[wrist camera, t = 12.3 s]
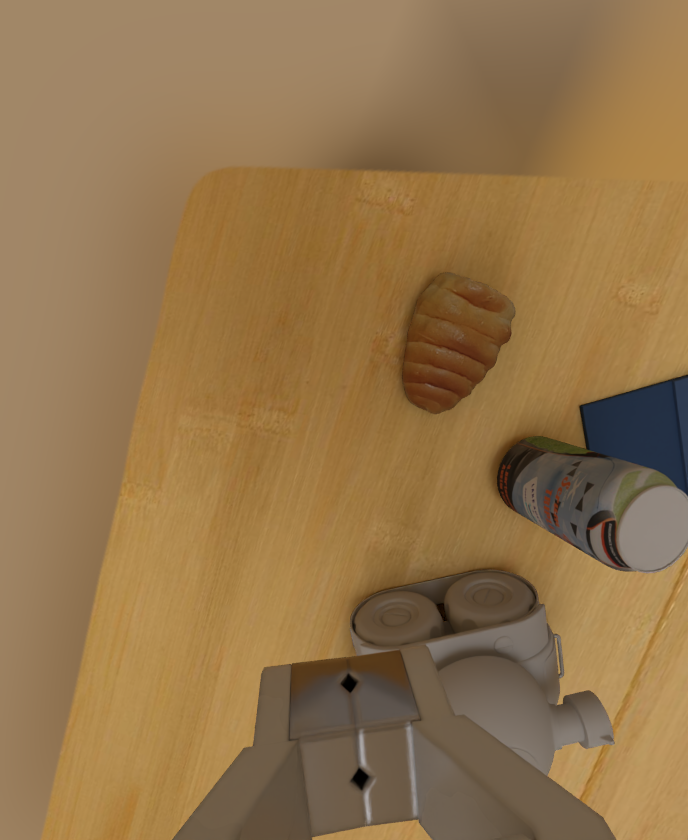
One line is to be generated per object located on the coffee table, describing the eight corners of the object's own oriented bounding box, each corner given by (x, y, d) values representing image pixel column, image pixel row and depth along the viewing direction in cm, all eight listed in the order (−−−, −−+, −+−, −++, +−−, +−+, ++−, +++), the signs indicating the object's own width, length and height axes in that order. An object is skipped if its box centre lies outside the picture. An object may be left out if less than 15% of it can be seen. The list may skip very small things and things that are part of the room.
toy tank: (523, 556, 37) (634, 672, 25) (536, 669, 39) (646, 830, 27) (340, 596, 37) (357, 736, 24) (363, 708, 39) (391, 892, 26)
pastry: (459, 423, 35) (477, 433, 31) (376, 389, 34) (385, 396, 30) (512, 303, 33) (538, 300, 30) (428, 266, 33) (444, 257, 29)
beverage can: (480, 448, 35) (567, 506, 24) (570, 416, 35) (702, 458, 24) (501, 521, 37) (593, 610, 25) (588, 490, 37) (721, 564, 25)
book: (579, 405, 35) (584, 407, 35) (690, 373, 36) (698, 374, 35) (601, 535, 38) (607, 538, 37) (706, 504, 38) (713, 507, 37)
